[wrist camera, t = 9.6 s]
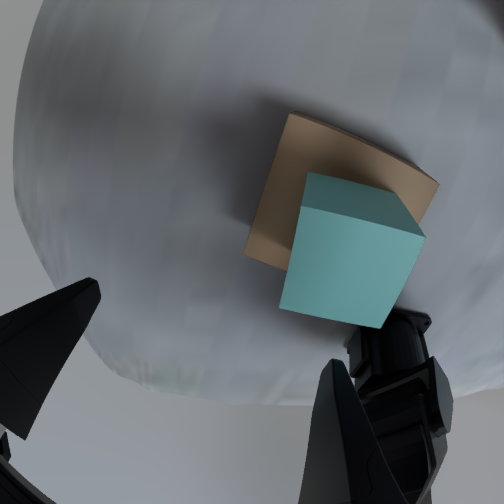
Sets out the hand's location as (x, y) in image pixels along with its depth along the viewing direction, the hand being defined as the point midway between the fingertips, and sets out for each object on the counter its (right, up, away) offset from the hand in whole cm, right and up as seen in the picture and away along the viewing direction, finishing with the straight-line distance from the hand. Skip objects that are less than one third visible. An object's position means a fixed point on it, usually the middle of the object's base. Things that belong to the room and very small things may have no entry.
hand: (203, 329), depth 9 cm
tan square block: (+7, +6, +9) cm, 13 cm away
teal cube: (+7, +4, +6) cm, 10 cm away
